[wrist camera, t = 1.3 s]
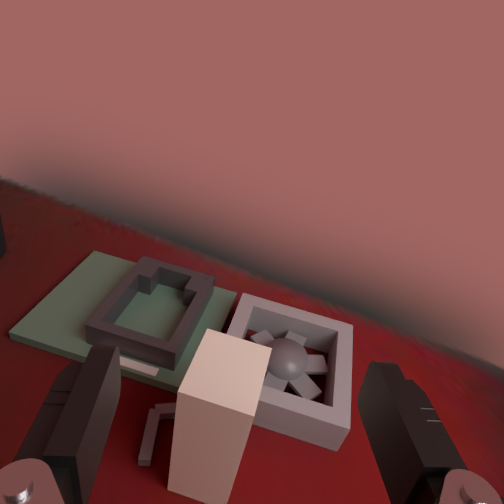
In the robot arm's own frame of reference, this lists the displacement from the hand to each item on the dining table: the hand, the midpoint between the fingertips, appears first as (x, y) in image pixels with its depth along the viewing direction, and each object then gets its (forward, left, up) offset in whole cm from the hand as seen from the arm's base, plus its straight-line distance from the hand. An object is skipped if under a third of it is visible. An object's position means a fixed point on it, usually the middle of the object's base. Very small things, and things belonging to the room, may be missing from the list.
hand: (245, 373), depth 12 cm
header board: (-13, +19, -21) cm, 31 cm away
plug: (-1, +7, -21) cm, 22 cm away
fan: (+1, +14, -21) cm, 25 cm away
